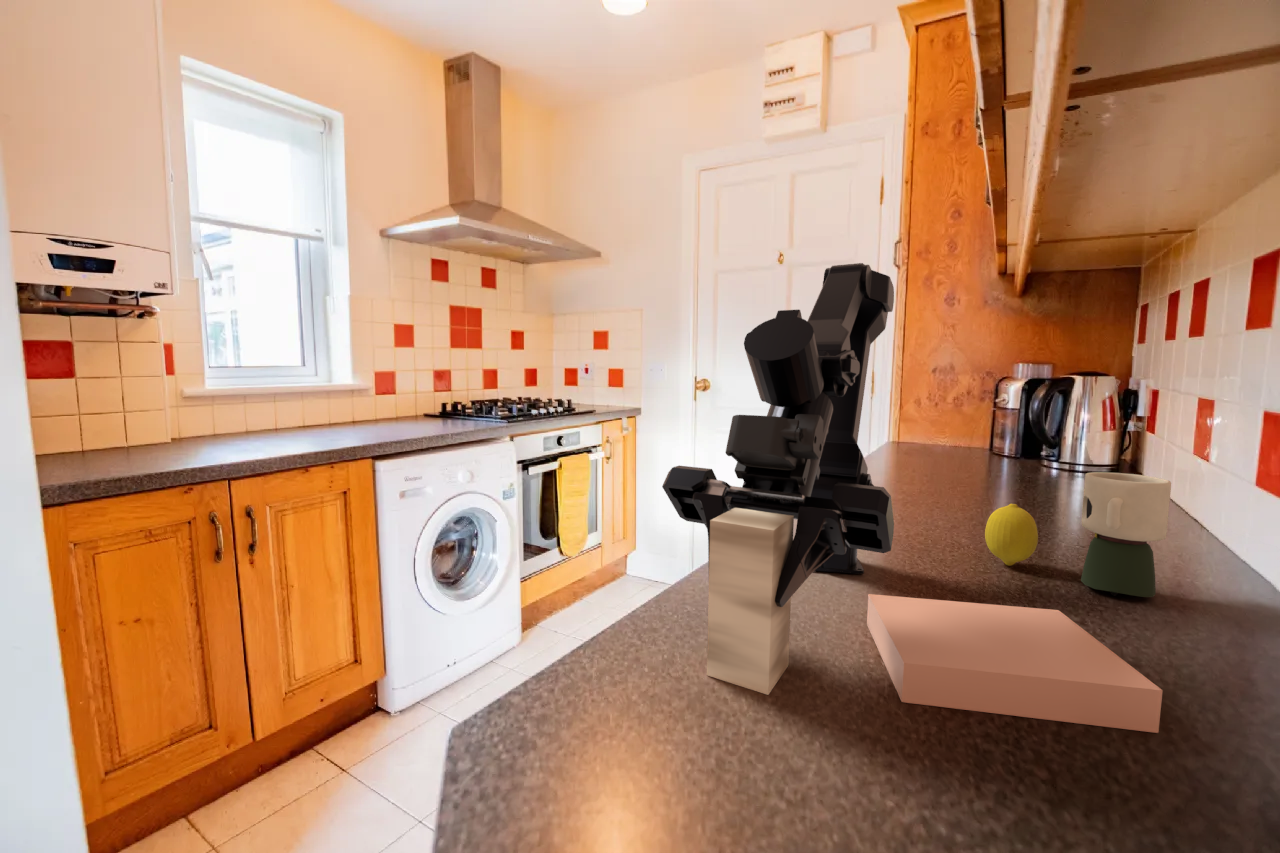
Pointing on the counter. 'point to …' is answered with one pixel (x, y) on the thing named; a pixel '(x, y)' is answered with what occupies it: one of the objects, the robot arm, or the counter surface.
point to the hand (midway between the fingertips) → (744, 596)
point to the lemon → (1011, 534)
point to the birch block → (748, 598)
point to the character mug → (1123, 530)
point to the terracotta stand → (1008, 663)
